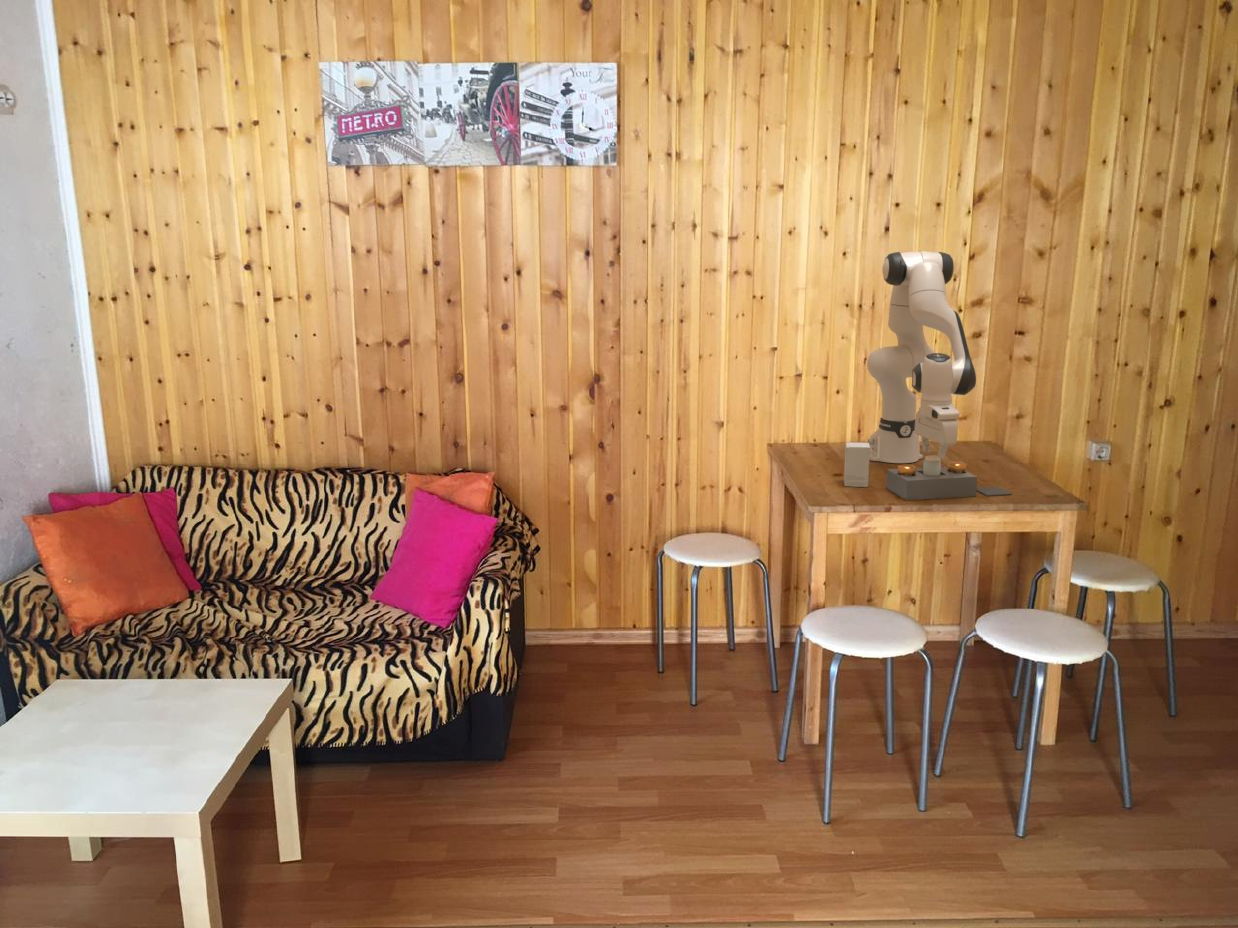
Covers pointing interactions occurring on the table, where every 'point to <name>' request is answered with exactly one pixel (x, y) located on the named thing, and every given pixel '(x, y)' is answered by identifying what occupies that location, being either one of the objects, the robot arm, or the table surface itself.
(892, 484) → the block
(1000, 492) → the mat
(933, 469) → the block
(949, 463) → the plunger
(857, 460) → the supplement box
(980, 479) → the table surface
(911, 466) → the plunger
